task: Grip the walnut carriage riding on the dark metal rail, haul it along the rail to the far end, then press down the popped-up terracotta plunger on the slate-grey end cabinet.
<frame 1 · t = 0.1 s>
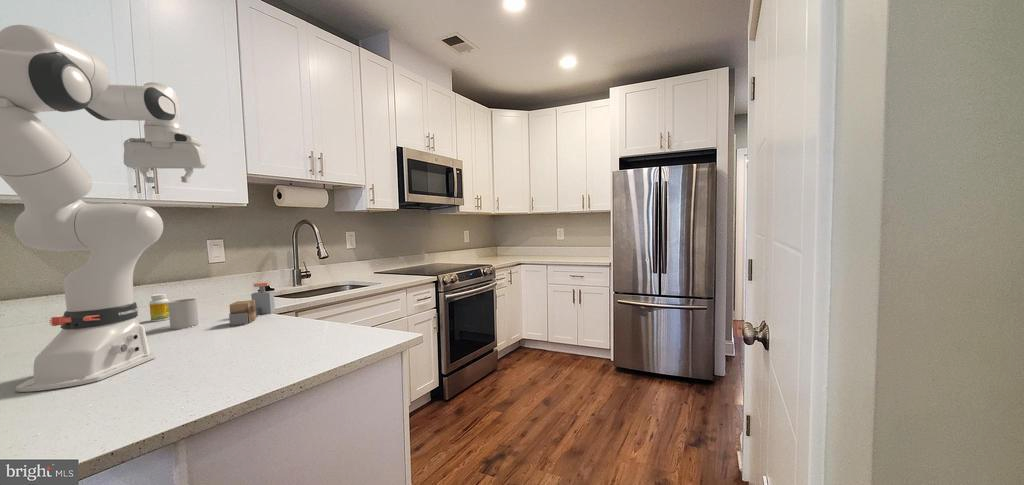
hand: (168, 182, 119), 48 cm above the worktop, fingers open, 8 cm apart
gauge cabinet: (264, 312, 144), on the worktop
carriage: (243, 311, 130), point 4 cm above the worktop, slide at 0.0 cm
cup: (184, 326, 128), on the worktop
plunger: (262, 289, 143), point 9 cm above the worktop, slide at 0.0 cm
supplement bottle: (160, 320, 139), on the worktop
rail: (248, 319, 134), on the worktop
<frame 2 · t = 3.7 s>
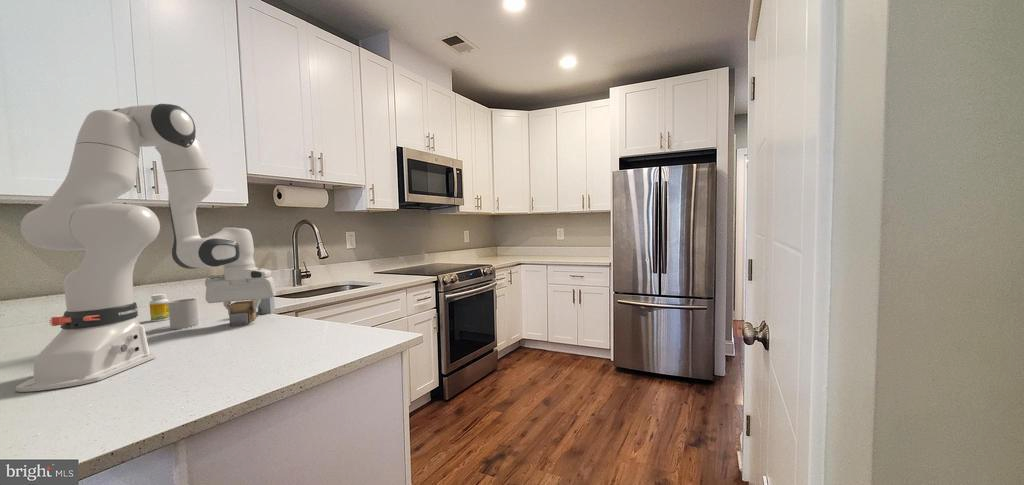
hand: (243, 313, 130), 3 cm above the worktop, fingers closed on carriage, 5 cm apart
carriage: (243, 311, 130), point 4 cm above the worktop, slide at 0.0 cm, touching gripper
everything else where it was.
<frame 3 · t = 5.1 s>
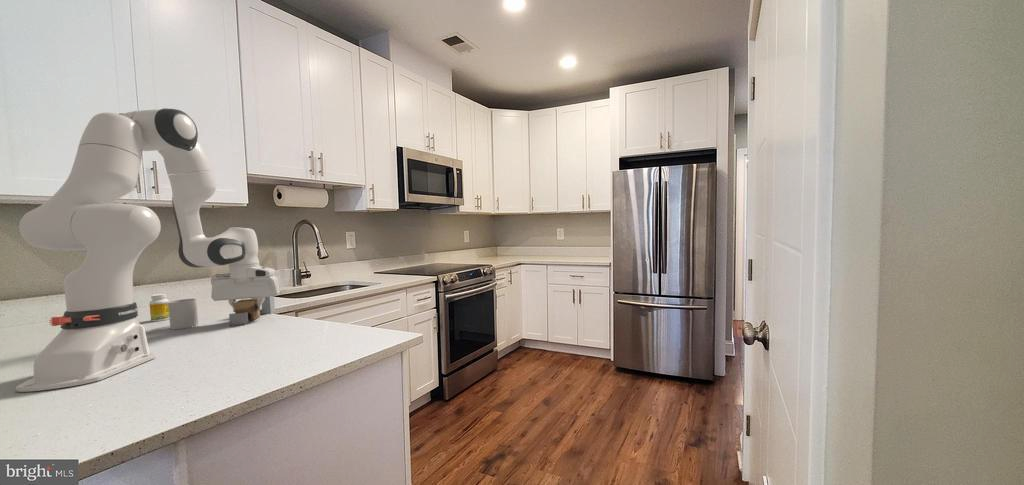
hand: (247, 310, 133), 3 cm above the worktop, fingers closed on carriage, 5 cm apart
carriage: (247, 309, 133), point 4 cm above the worktop, slide at 3.8 cm, touching gripper
everything else where it was.
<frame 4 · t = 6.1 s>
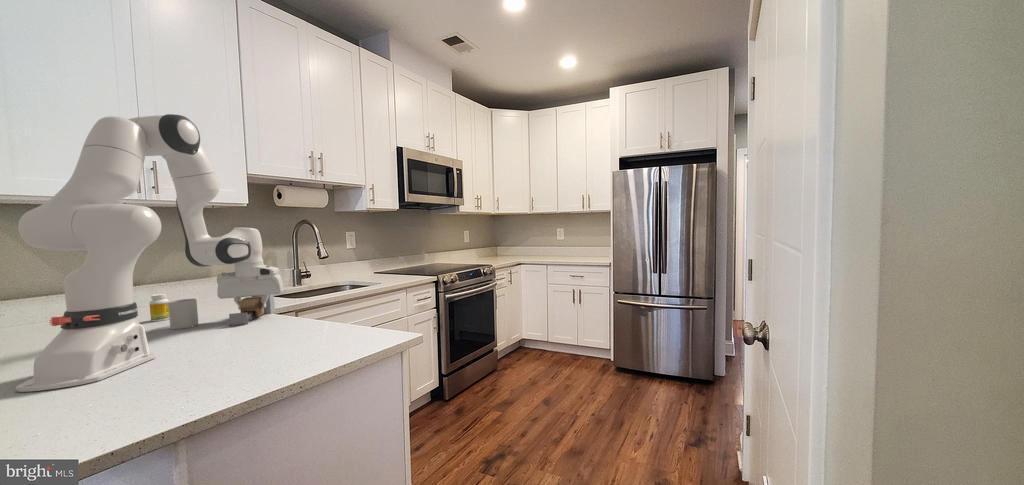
hand: (252, 308, 137), 3 cm above the worktop, fingers closed on carriage, 5 cm apart
carriage: (252, 307, 137), point 4 cm above the worktop, slide at 8.0 cm, touching gripper
everything else where it was.
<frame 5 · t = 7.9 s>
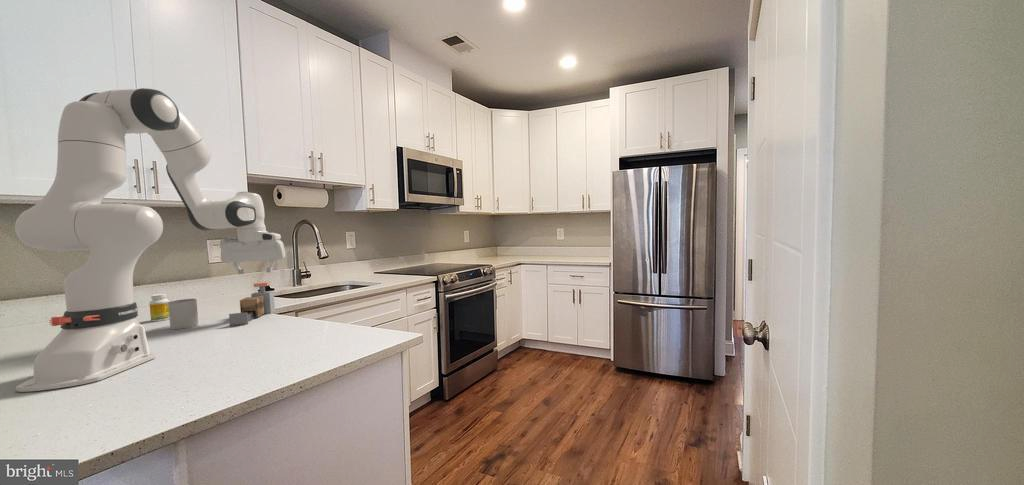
hand: (255, 273, 140), 16 cm above the worktop, fingers open, 8 cm apart
carriage: (252, 307, 137), point 4 cm above the worktop, slide at 8.0 cm
everything else where it was.
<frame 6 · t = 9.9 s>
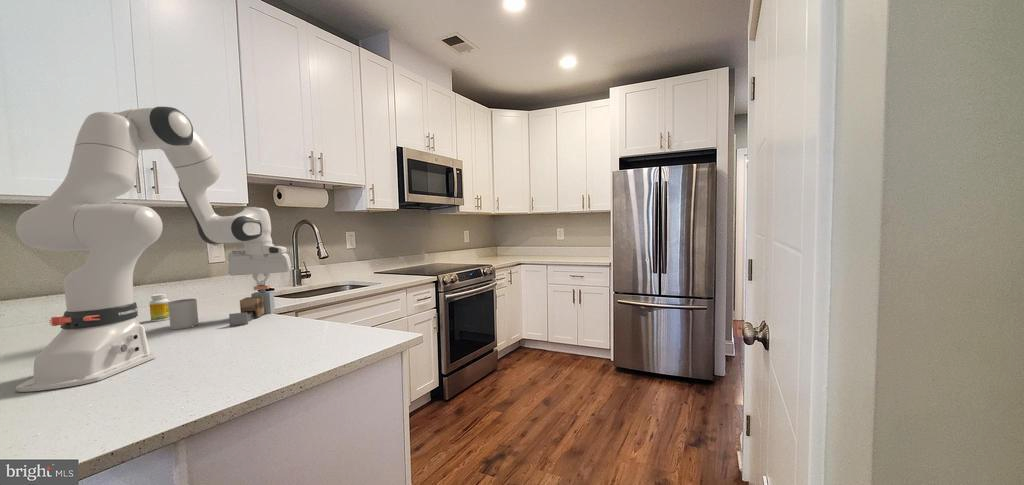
hand: (262, 285, 144), 11 cm above the worktop, fingers closed, pressing on plunger
plunger: (262, 292, 144), point 8 cm above the worktop, slide at 1.1 cm, touching gripper
everything else where it was.
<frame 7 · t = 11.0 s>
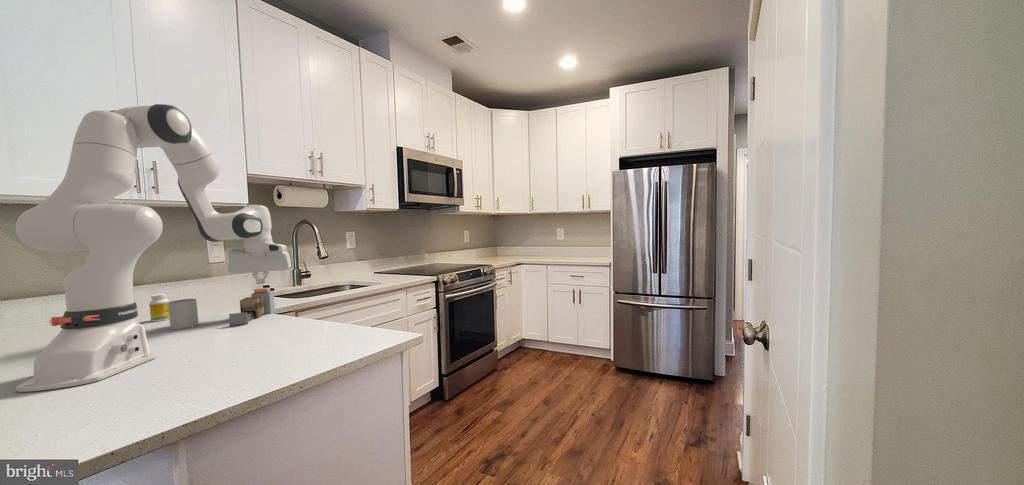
hand: (261, 283, 143), 11 cm above the worktop, fingers closed
plunger: (262, 295, 144), point 7 cm above the worktop, slide at 2.2 cm
everything else where it was.
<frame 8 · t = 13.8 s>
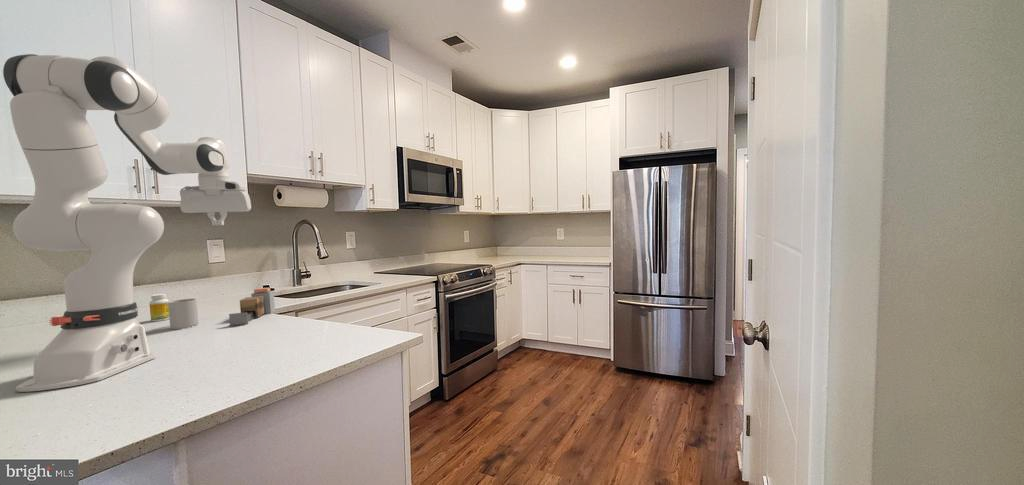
hand: (218, 225, 132), 34 cm above the worktop, fingers closed
nothing on the worktop moved.
at the end: carriage slide at 8.0 cm; plunger slide at 2.2 cm; the gripper is holding nothing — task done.
